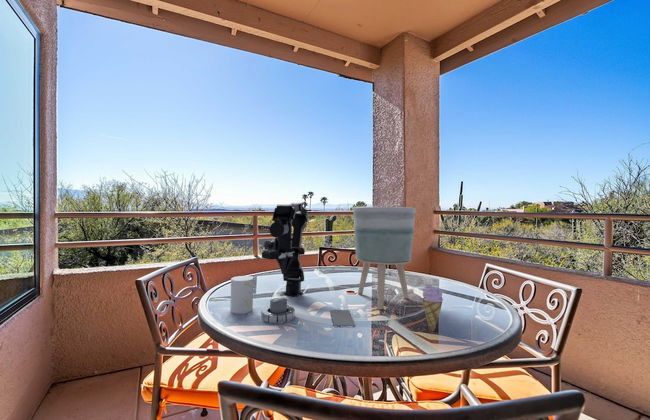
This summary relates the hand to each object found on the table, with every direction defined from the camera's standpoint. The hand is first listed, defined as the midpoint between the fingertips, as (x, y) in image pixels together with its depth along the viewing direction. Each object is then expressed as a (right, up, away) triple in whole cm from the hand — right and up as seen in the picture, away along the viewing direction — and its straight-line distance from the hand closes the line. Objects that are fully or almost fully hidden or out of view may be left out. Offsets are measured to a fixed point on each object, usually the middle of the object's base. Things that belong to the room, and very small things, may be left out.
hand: (283, 274), depth 115 cm
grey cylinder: (-15, -12, -6) cm, 21 cm away
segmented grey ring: (0, -12, -13) cm, 18 cm away
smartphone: (+23, -14, -13) cm, 29 cm away
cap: (0, -13, -13) cm, 18 cm away
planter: (+41, -14, +9) cm, 45 cm away
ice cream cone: (+51, -14, -22) cm, 57 cm away
